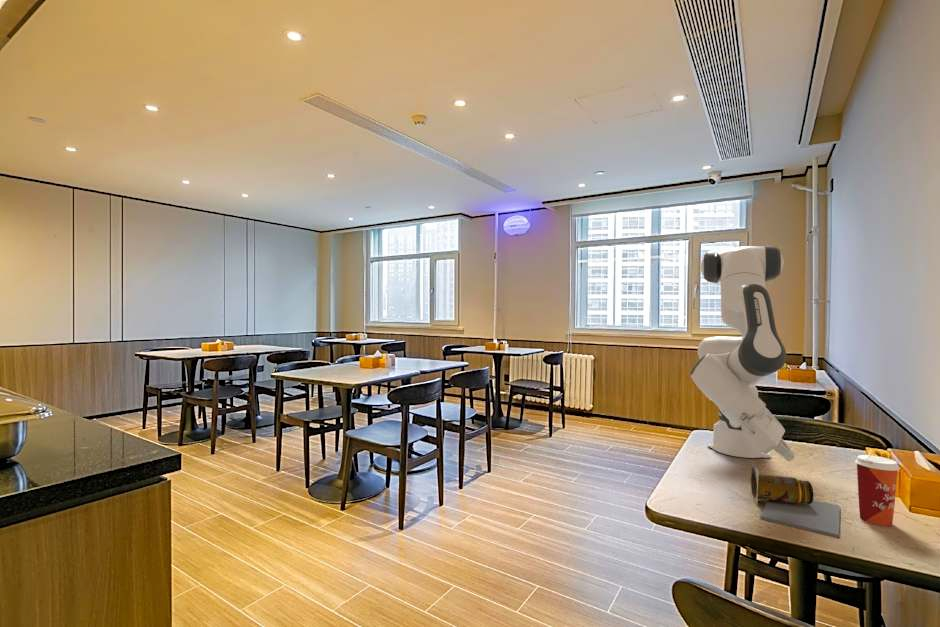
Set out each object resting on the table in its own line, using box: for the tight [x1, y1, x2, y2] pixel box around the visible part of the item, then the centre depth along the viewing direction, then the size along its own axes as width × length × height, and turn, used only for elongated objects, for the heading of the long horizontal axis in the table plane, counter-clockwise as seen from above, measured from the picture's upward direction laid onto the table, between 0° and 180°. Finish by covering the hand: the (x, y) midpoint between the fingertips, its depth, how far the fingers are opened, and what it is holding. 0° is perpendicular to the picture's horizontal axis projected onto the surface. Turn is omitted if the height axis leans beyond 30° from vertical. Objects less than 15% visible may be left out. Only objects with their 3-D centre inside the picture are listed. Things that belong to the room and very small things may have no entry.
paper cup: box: [854, 454, 901, 527], centre depth 108 cm, size 8×8×14 cm
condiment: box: [750, 461, 814, 506], centre depth 117 cm, size 7×8×12 cm
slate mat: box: [760, 499, 841, 538], centre depth 112 cm, size 20×14×1 cm
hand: (792, 458), depth 113 cm, fingers closed
